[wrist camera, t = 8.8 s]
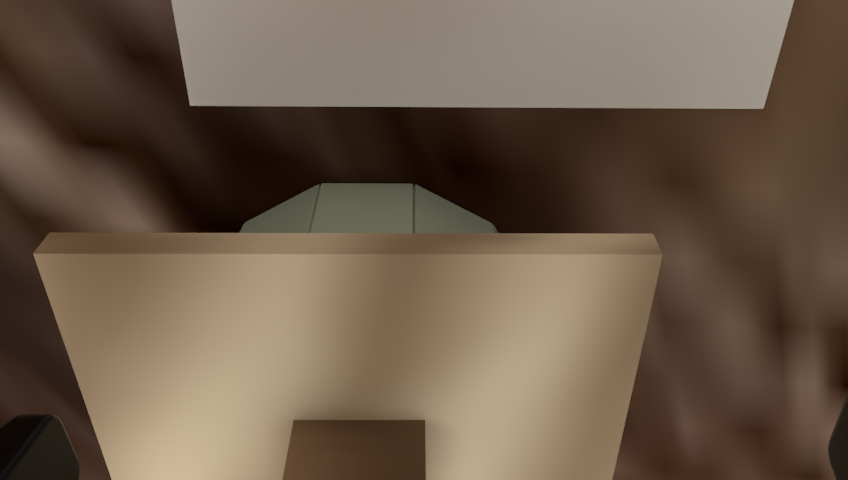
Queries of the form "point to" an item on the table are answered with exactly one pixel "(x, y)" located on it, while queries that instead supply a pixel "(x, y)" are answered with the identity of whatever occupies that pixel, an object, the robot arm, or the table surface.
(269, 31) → the mat
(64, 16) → the table surface
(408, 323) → the beige square tray
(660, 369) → the table surface
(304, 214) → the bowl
